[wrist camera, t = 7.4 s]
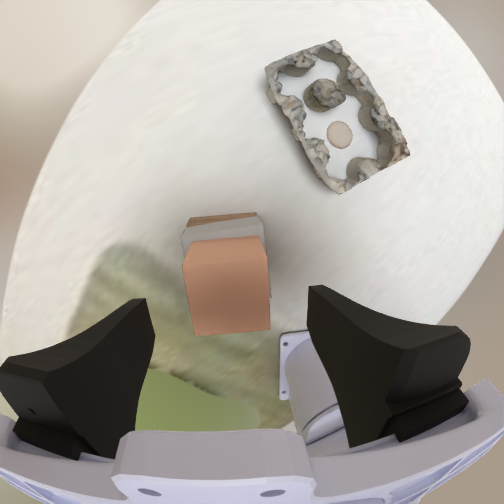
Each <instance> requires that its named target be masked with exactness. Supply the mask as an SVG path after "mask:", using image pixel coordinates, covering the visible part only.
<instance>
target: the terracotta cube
mask: <svg viewBox="0 0 504 504" xmlns="http://www.w3.org/2000/svg"><path fill="white" fill-rule="evenodd" d="M182 269H183V275H184V281H185V287H186V292H187V298H188V303H189V308H190V313H191V318H192V323H193V328H194V333H195V336H200V335H215V334H229V333H240V332H251V331H261V330H270V304H269V280H268V259H267V256H266V254H265V251H264V249H263V246H262V243H261V241H260V238H259V236H246V237H234V238H223V239H212V240H201V241H192V243H191V245H190V248H189V250H188V253H187V255H186V258H185V260H184V263H183V265H182Z"/></svg>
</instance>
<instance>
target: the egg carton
mask: <svg viewBox="0 0 504 504" xmlns="http://www.w3.org/2000/svg"><path fill="white" fill-rule="evenodd" d="M318 57H319V58H321V59H322V60H324V61H327V62H335V63H336V64H337V65H338V66H339V68H340V70H341V72H340V73H339V74H338V77H337V84H338V86H337V85H336V83H335V82H334V81H331V80H328V79H318V80H316V81H314V83H312V84H311V85H310V86H309V87H308V88H307V89H306V90H305V92H304V96H303V98H304V102H305V104H306V105H307V107H309V108H310V109H312V110H314V111H317V112H324V111H326V110H329V109H331V108H334V107H336V106H338V105H340V104H341V103H343V102H344V101H345V100H346V96H345V94H347V95H351V96H356V98H357V99H358V100H359V101H360V103H361V104H362V107H361V108H360V110H359V113H358V119H359V122H360V124H361V125H362V126H363V127H364V128H365V129H366V130H369V131H376V132H377V134H378V136H379V138H380V143H379V145H378V147H377V158H378V160H374V159H372V158H361V157H357V158H354V159H352V160H351V161H350V162H349V164H348V166H347V177H348V178H347V179H346V180H340V179H334V178H330V177H329V176H328V174H327V171H326V169H325V167H326V164H327V163H328V160H329V158H330V156H329V151H328V149H327V147H326V145H325V144H324V140H321V139H318V138H311V139H306V140H305V139H304V137H305V132H304V131H303V130H302V129H303V127H304V126H303V124H302V123H303V120H304V119H305V118H306V113H305V111H304V106H303V103H302V101H301V100H300V99H298V98H297V97H295V96H294V95H290V96H285V95H281V93H280V92H281V89H282V85H281V83H279V82H276V80H277V77H278V74H277V72H284V73H286V74H288V75H291V76H295V77H299V76H302V75H304V74H305V73H306V72H307V71H308V70H309V69H310V68H311V67H313V66H315V62H316V61H317V59H318ZM265 72H266V76H267V79H268V82H269V84H270V89H269V90H268V92H267V93H266V95H267V97H268V98H269V100H270V101H271V102H272V104H276V103H278V104H279V105H281V107H282V111H283V113H284V114H285V115H286V116H287V117H289V119H290V121H291V124H292V126H293V128H292V129H291V130H290V131H291V133H292V135H293V136H294V138H295V139H296V141H301V143H302V145H303V147H304V149H305V152H306V154H307V156H308V158H309V159H310V161H311V162H312V164H313V165H314V168H313V169H314V171H315V173H316V175H317V176H318V178H319V179H323V181H324V182H325V183H326V184H327V185H328V186H329V187H330V188H331V189H333V190H334V191H335V192H336V193H337V194H338V195H339V194H342V193H344V192H346V191H347V190H349V189H351V188H353V187H354V186H355V185H357V184H359V183H361V182H363V181H365V180H367V179H368V178H369V177H370V176H372V175H374V174H375V173H377V172H379V171H380V170H383V169H385V168H387V167H389V166H391V165H393V164H395V163H397V162H398V161H400V160H402V159H404V158H406V157H407V156H410V151H409V149H408V148H407V146H406V145H407V142H406V140H405V138H404V136H403V135H402V132H401V129H400V127H399V126H398V124H397V122H396V121H395V119H394V118H392V117H390V116H389V114H388V112H387V110H386V107H385V105H384V102H383V100H382V99H381V98H380V97H379V96H378V94H377V93H376V91H375V89H374V88H373V86H372V85H371V83H370V80H369V78H368V76H367V75H366V74H365V73H364V72H363V70H362V69H361V68H360V67H359V66H358V65H357V64H356V63H355V62H354V61H353V60H352V59H351V57H350V56H348V55H347V54H346V53H344V52H343V50H342V46H341V44H340V43H339V42H337V41H336V40H332V41H330V42H327V43H324V44H321V45H316V46H314V47H311V48H308V49H305V50H302V51H299V52H297V53H294V54H291V55H289V56H286V57H284V58H282V59H281V60H278V61H275V62H273V63H271V64H270V65H268V66H266V67H265ZM343 92H344V93H343ZM299 128H301V131H300V130H299ZM327 138H328V140H329V142H330V143H331V144H332V145H333V146H334V147H336V148H340V149H343V148H346V147H348V146H349V145H350V143H351V141H352V132H351V129H350V128H349V126H347V124H345V123H344V122H341V121H335V122H332V123H331V124H330V125H329V127H328V129H327Z"/></svg>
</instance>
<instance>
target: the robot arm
mask: <svg viewBox="0 0 504 504" xmlns="http://www.w3.org/2000/svg"><path fill="white" fill-rule="evenodd" d="M307 327H308V331H304V332H296V333H288V334H283V335H281V337H280V374H279V398H280V399H281V400H288V399H289V402H290V406H291V410H292V414H293V418H294V421H295V425H296V429H297V433H298V434H295V433H292V432H290V431H287V430H284V429H260V428H259V429H249V430H234V431H212V432H210V431H209V432H183V431H161V430H141V431H135V422H136V414H137V407H138V400H139V396H140V392H141V388H142V385H143V382H144V379H145V376H146V373H147V369H148V366H149V363H150V360H151V357H152V353H153V348H154V341H155V333H154V329H153V326H152V322H151V318H150V314H149V310H148V306H147V302H146V298H142V299H132V300H130V301H128V302H127V303H125V304H124V305H122V306H121V307H119V308H118V309H116V310H115V311H114V312H112V313H111V314H109V315H108V316H107V317H105V318H104V319H102V320H101V321H99V322H98V323H96V324H95V325H93V326H92V327H90V328H88V329H87V330H85V331H83V332H82V333H80V334H78V335H76V336H74V337H72V338H70V339H68V340H66V341H63V342H61V343H58V344H56V345H54V346H51V347H48V348H45V349H42V350H39V351H35V352H31V353H27V354H22V355H17V356H10V357H8V358H7V359H6V360H5V362H4V363H3V364H2V366H1V367H0V392H1V393H2V395H3V396H4V398H5V399H6V400H7V402H8V403H9V404H10V406H11V407H12V409H13V410H14V411H15V413H16V414H17V415H18V416H19V418H18V420H17V422H15V421H14V420H13V419H11V418H10V417H8V416H6V415H3V414H1V413H0V476H1V477H2V478H3V479H4V480H6V481H7V482H8V483H9V484H11V485H12V486H14V487H15V488H17V489H19V490H20V491H22V492H24V493H26V494H27V495H29V496H31V497H33V498H35V499H37V500H38V501H40V502H42V503H44V504H418V503H419V501H420V499H421V498H422V496H424V495H425V494H427V493H429V492H430V491H432V490H434V489H436V488H437V487H439V486H440V485H442V484H444V483H445V482H447V481H448V480H450V479H451V478H453V477H454V476H456V475H457V474H458V473H460V472H461V471H463V470H464V469H466V468H467V467H469V466H470V465H471V464H473V463H474V462H475V461H477V460H478V459H479V458H480V457H482V456H483V455H484V454H486V453H487V452H488V451H489V449H490V448H492V446H493V445H494V444H495V443H496V442H497V441H498V440H499V439H500V438H501V437H502V435H503V434H504V397H503V395H502V394H501V393H500V392H499V391H498V390H497V389H496V387H495V386H494V385H493V384H492V383H491V382H490V381H489V380H488V379H487V378H485V379H483V380H481V381H480V382H478V383H476V384H475V385H473V386H471V387H470V388H468V389H467V390H466V391H465V392H464V393H463V392H462V391H461V390H460V389H459V388H460V387H461V386H462V382H461V381H460V380H459V379H458V376H459V374H460V372H461V370H462V368H463V366H464V364H465V362H466V360H467V357H468V355H469V351H470V345H471V343H470V339H469V337H468V336H467V335H466V334H465V333H464V332H463V331H462V330H460V329H459V328H458V327H457V326H441V325H440V326H439V325H429V324H421V323H415V322H410V321H406V320H401V319H397V318H394V317H390V316H387V315H385V314H382V313H379V312H376V311H374V310H371V309H369V308H367V307H365V306H362V305H360V304H358V303H356V302H354V301H352V300H350V299H348V298H347V297H345V296H343V295H341V294H339V293H337V292H336V291H334V290H332V289H330V288H328V287H326V286H324V285H316V286H309V292H308V311H307ZM285 342H287V343H286V344H283V343H285Z"/></svg>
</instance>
